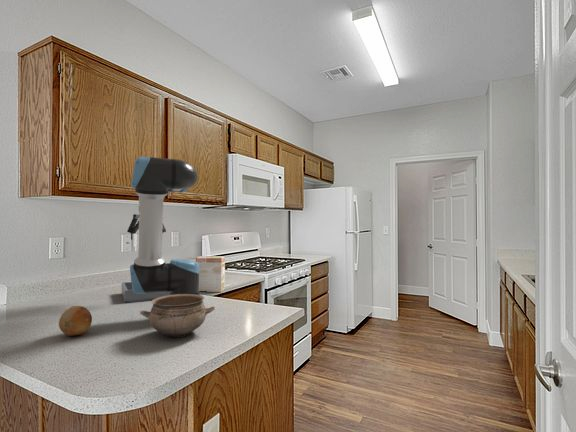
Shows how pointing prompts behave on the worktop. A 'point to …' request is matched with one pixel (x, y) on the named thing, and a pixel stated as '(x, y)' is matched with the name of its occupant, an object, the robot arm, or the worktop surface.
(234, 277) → the worktop surface
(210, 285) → the coffeecake box
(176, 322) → the cooking pot
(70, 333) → the onion
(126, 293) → the box
